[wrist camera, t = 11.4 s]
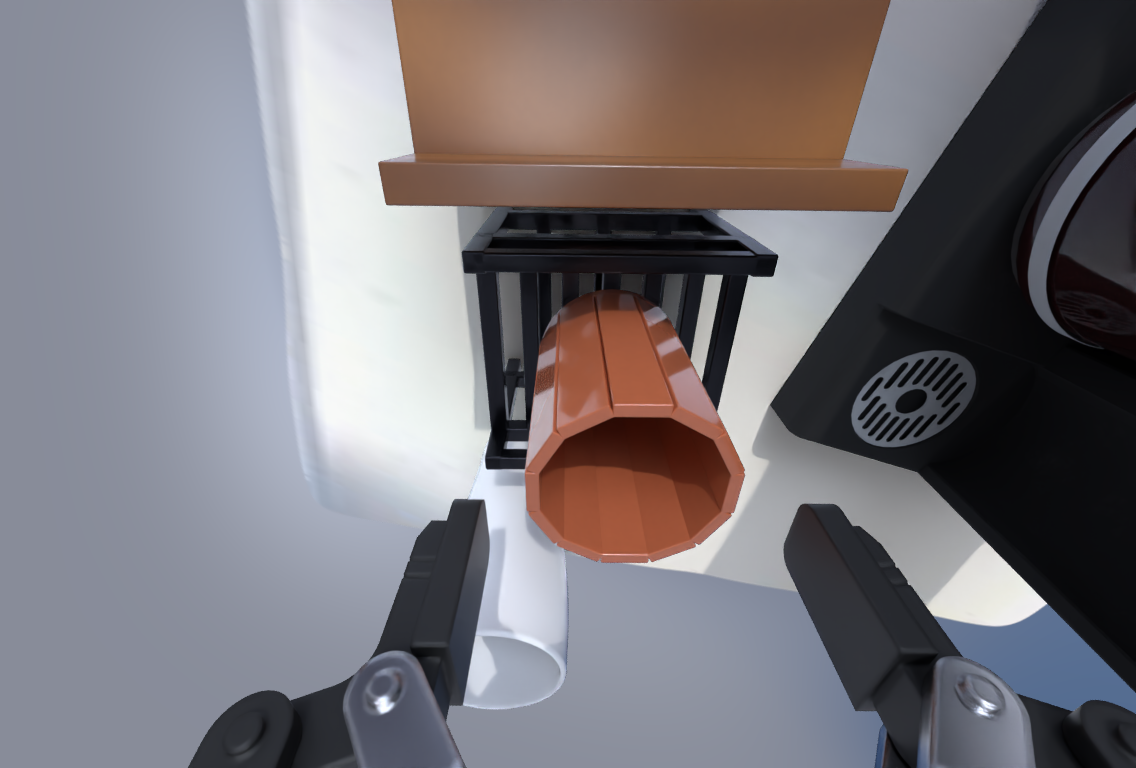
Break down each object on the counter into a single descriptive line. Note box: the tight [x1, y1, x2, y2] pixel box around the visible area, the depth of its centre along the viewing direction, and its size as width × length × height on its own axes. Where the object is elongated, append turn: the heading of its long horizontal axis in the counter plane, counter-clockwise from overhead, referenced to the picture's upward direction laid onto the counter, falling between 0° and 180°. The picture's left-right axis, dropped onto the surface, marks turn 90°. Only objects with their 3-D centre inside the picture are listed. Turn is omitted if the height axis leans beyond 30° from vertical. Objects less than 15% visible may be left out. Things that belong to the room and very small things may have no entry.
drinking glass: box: [463, 441, 568, 709], centre depth 26 cm, size 7×7×15 cm
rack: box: [462, 207, 778, 470], centre depth 22 cm, size 10×11×10 cm
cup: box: [525, 289, 745, 563], centre depth 16 cm, size 6×6×8 cm
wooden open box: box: [378, 0, 908, 212], centre depth 14 cm, size 10×13×13 cm
